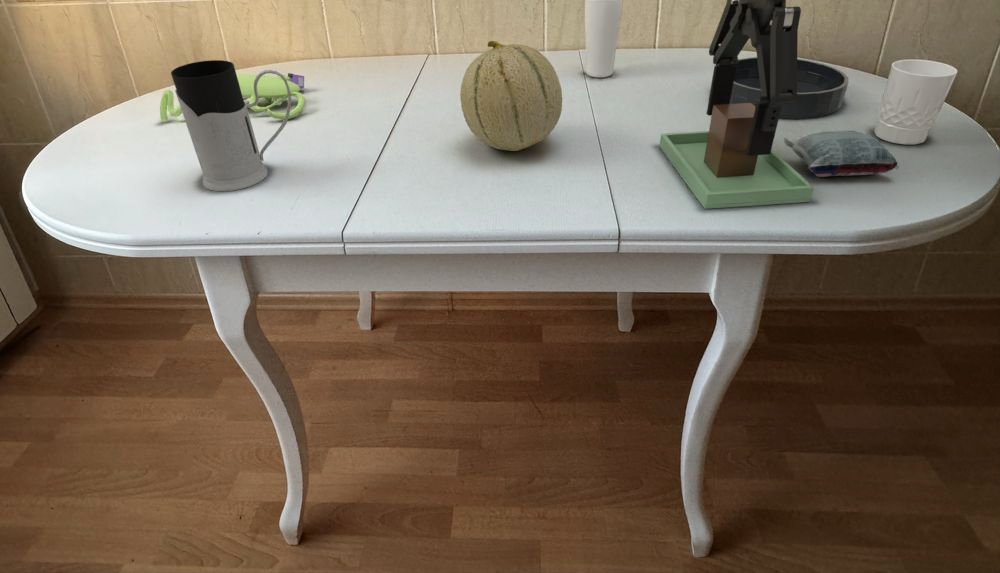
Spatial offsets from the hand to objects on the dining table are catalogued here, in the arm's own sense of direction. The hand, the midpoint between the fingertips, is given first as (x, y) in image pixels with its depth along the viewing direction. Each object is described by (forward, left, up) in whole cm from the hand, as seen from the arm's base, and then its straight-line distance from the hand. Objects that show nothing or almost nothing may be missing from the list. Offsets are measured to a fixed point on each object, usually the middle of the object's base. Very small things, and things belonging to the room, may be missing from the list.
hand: (735, 132), depth 81 cm
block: (0, 0, -5) cm, 5 cm away
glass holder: (+65, -9, -6) cm, 66 cm away
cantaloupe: (+28, -13, -6) cm, 31 cm away
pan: (-19, -27, -5) cm, 33 cm away
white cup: (-29, -8, -6) cm, 31 cm away
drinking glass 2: (+8, -45, -6) cm, 46 cm away
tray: (0, 0, -5) cm, 5 cm away
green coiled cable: (+75, -39, -6) cm, 85 cm away
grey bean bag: (-14, +1, -6) cm, 15 cm away
